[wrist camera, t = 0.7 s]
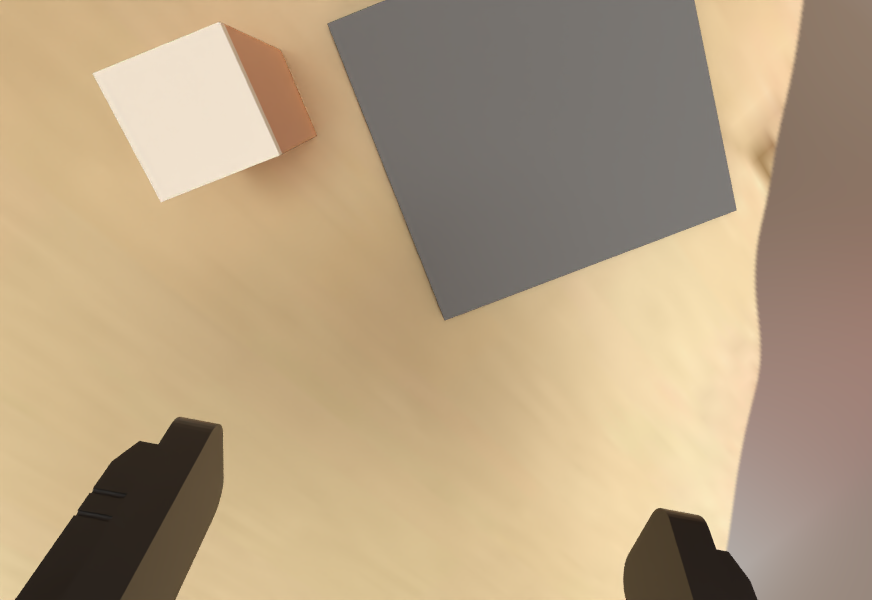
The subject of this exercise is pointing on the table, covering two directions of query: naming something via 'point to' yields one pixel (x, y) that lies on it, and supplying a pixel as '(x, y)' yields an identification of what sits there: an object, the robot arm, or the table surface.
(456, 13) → the charcoal mat
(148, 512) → the robot arm
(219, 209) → the table surface
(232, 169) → the terracotta block
